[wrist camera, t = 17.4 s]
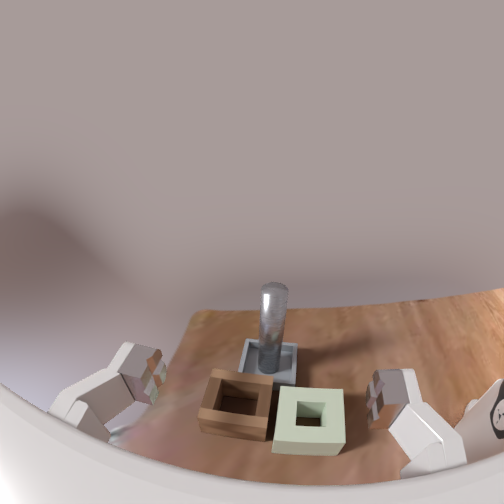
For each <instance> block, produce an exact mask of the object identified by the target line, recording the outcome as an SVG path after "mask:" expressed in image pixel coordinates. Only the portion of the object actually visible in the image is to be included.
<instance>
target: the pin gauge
mask: <svg viewBox="0 0 504 504" xmlns="http://www.w3.org/2000/svg"><path fill="white" fill-rule="evenodd" d="M287 299H288V288H287V287H286V286H285V285H283V284H281V283H276V282H271V283H267V284H265V285H263V286H262V288H261V305H260V328H259V349H258V369H259V371H260V372H262V373H264V374H274V373H276V372H277V371H278V370H279V366H280V358H281V350H282V342H283V334H284V326H285V317H286V308H287Z"/></svg>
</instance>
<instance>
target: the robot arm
mask: <svg viewBox="0 0 504 504" xmlns="http://www.w3.org/2000/svg"><path fill="white" fill-rule="evenodd" d="M161 357H162V353H161V351H160V350H159V349H155V348H151V347H147V346H143V345H139V344H134V343H130V342H125V343H123V344H122V346H121V347H120V349H119V351H118V352H117V354H116V355H115V357H114V358H113V360H112V361H111V363H110V365H109V366H108V368H107V369H102V370H100V371H98V372H96V373H95V374H92V375H91V376H89V377H87V378H85V379H83V380H81V381H79V382H77V383H75V384H74V385H72V386H70V387H68V388H66V389H64V390H62V391H61V392H60V394H59V395H58V397H57V398H56V400H55V401H54V403H53V404H52V406H51V407H50V409H49V411H48V412H47V413H46V412H44V411H43V410H41V409H39V408H38V407H36V406H34V405H33V404H31V403H29V402H28V401H26V400H25V399H23V398H22V397H20V396H19V395H17V394H16V393H14V392H13V391H11V390H10V389H9V388H7V387H6V386H4V385H3V384H2V383H0V504H504V379H498V380H497V381H496V382H495V383H494V384H493V385H492V386H491V387H490V388H489V390H488V391H487V392H486V393H485V394H484V395H483V396H482V397H481V398H480V399H474V400H471V401H470V402H469V403H468V404H467V406H466V409H465V413H464V416H463V418H462V419H461V420H460V421H459V422H458V424H457V425H456V426H455V428H454V429H453V428H452V427H451V426H450V425H449V424H448V423H447V422H446V421H445V420H444V419H443V418H442V417H441V416H440V415H439V414H438V413H437V412H436V411H435V410H434V409H433V408H432V407H431V406H430V405H428V404H427V403H426V402H423V401H422V397H421V393H420V390H419V386H418V382H417V379H416V375H415V372H414V370H413V369H388V370H376V371H375V372H374V374H373V381H372V382H370V383H369V385H368V387H367V391H366V406H367V407H368V408H369V409H370V411H369V413H368V414H367V419H368V429H388V430H389V431H390V432H391V434H392V435H393V436H394V438H395V439H396V441H397V442H398V443H399V445H400V446H401V447H402V449H403V450H404V452H405V453H406V454H407V456H408V457H409V458H410V460H411V462H409V463H408V464H407V465H406V466H405V467H404V468H403V469H402V470H401V471H400V476H401V480H394V481H387V482H378V483H368V484H355V485H329V486H313V485H287V484H274V483H264V482H255V481H247V480H240V479H233V478H227V477H222V476H217V475H211V474H207V473H202V472H197V471H193V470H189V469H185V468H181V467H177V466H174V465H170V464H167V463H163V462H160V461H157V460H153V459H150V458H147V457H144V456H141V455H138V454H135V453H133V452H130V451H127V450H124V449H122V448H119V447H117V446H114V445H112V444H109V443H108V441H109V439H110V437H111V435H110V432H109V431H108V430H107V429H106V427H105V426H104V424H105V423H107V422H108V421H109V420H111V419H112V418H114V417H115V416H116V415H117V414H119V413H120V412H122V411H123V410H124V409H126V408H127V407H128V406H130V405H131V404H132V403H134V402H135V401H139V402H143V403H146V404H150V405H154V402H155V400H156V398H157V396H158V394H159V391H158V387H159V386H161V385H162V384H163V383H164V380H165V377H166V365H165V363H164V362H163V361H162V360H161Z"/></svg>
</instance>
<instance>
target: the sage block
mask: <svg viewBox="0 0 504 504" xmlns="http://www.w3.org/2000/svg"><path fill="white" fill-rule="evenodd" d="M296 417H308V418H320V427H312V426H295V425H296ZM345 443H346V441H345V417H344V400H343V389H320V388H302V387H289V386H280V393H279V399H278V407H277V415H276V423H275V431H274V438H273V446H272V453H280V454H295V455H325V456H335V455H338V453H339V452H340V450H341V449H342V447H343V446H344V444H345Z"/></svg>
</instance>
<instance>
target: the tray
mask: <svg viewBox="0 0 504 504" xmlns="http://www.w3.org/2000/svg"><path fill="white" fill-rule="evenodd" d="M258 349H259V340H255V339H246V341H245V345H244V349H243V353H242V357H241V361H240V366H239V370H238V372H242V373H250V374H259V375H268V376H274V379H273V387H272V390H275V391H280V386H289V387H295V380H296V363H297V343H285V342H282V350H281V358H280V366H279V370H278V371H277V372H276V373H274V374H264V373H262V372H260V371H259V369H258Z"/></svg>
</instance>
